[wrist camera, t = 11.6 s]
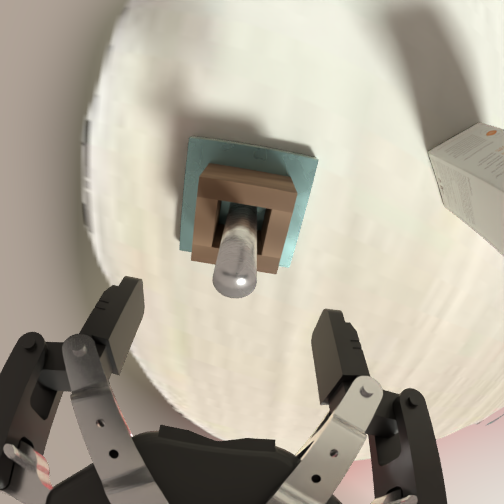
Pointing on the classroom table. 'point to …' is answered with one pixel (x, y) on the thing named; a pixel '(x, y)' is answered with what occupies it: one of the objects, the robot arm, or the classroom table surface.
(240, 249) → the post
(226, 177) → the hollow block
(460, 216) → the small box
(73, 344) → the robot arm
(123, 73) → the classroom table surface
